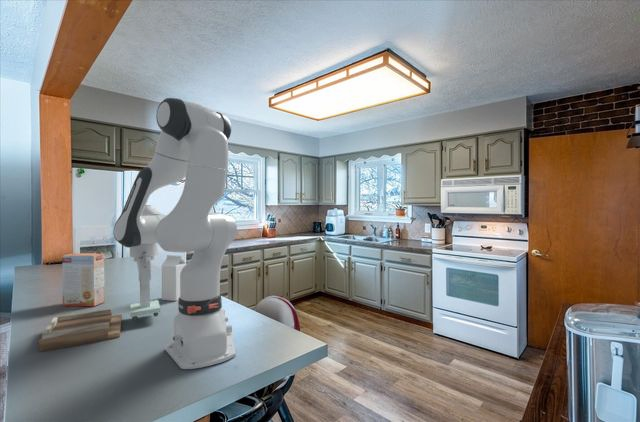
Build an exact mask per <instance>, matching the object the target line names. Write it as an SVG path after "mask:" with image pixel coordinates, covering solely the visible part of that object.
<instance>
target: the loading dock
mask: <svg viewBox="0 0 640 422" xmlns="http://www.w3.org/2000/svg"><path fill="white" fill-rule="evenodd" d="M112 311H113V310H112V308H106V309H99V310H92V311H85V312H78V313H71V314H64V315H56V316H54V317H53V318H52V319H51V321H50V323H49V324H48V325H47V326H46V328H45V330H44V331H43V332H42V333H41V338H40V339H39V340H38V352H39V353H40V352H45V351H51V350H57V349H62V348H63V349H64V348H67V347H72V346H77V345H78V346H79V345H84V344H88V343H95V342H101V341H105V340H110V339H116V338H120V336H121V331H122V329H121V328H122V320H123V315H122V314H116V315H113V314H112V313H113V312H112Z"/></svg>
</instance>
